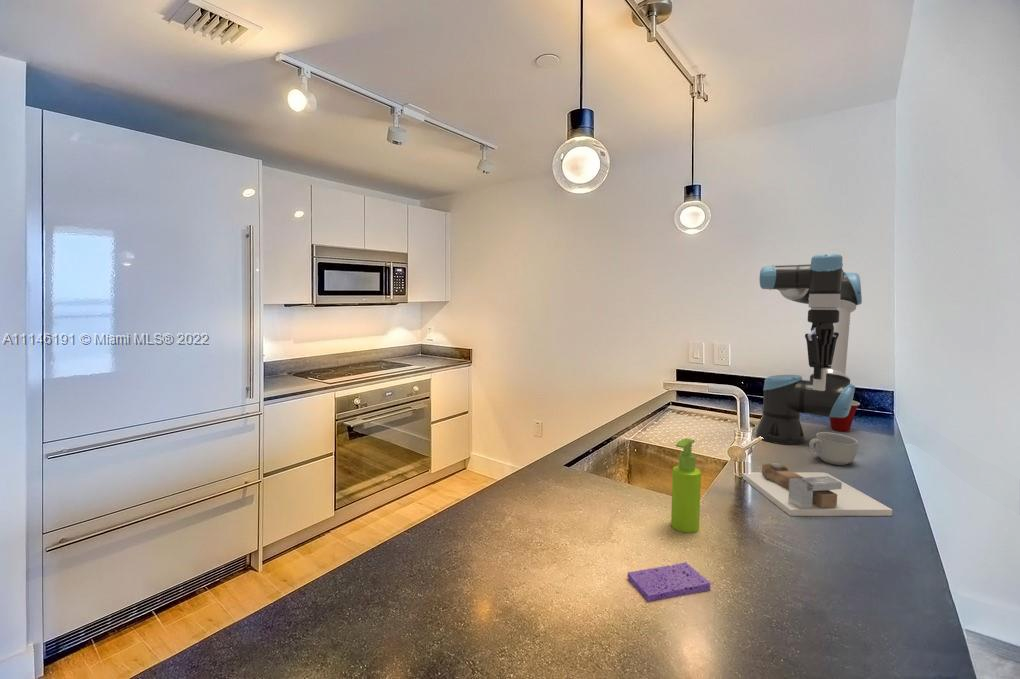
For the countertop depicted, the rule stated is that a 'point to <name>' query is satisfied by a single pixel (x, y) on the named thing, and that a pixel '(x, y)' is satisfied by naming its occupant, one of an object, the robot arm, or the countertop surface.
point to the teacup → (834, 447)
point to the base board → (847, 504)
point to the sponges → (668, 581)
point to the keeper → (809, 489)
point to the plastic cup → (844, 419)
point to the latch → (783, 475)
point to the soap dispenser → (686, 490)
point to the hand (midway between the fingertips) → (818, 389)
